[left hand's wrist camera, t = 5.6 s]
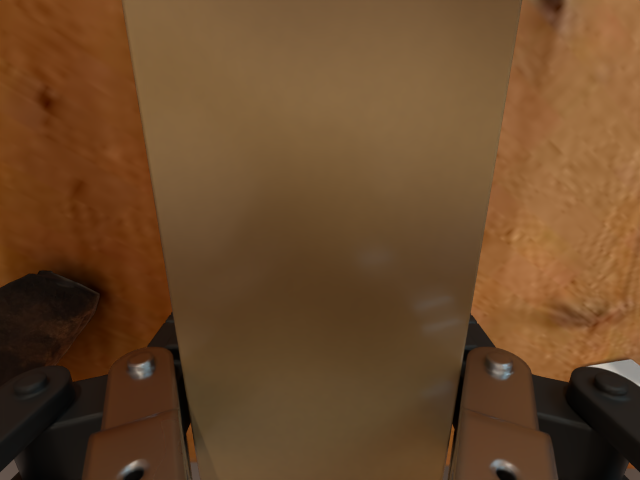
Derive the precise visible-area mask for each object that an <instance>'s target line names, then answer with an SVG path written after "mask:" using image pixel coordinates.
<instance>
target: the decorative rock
mask: <svg viewBox="0 0 640 480" xmlns="http://www.w3.org/2000/svg"><path fill="white" fill-rule="evenodd" d="M99 297H100V294H99V293H97V292H95V291H93V290H91V289H89V288H87V287H85V286H83V285H82V284H79V283H77V282H74V281H72V280H69V279H67V278H64V277H62V276H60V275H57V274H55V273H53V272H52V271H44V270H42V271H39V273H38V274H28V275H26V276H24V277H22V278H20V279H18V280H15V281H13V282H10V283H8V284H6V285H5V286H3V287H1V288H0V386H2V385H3V384H4V383H6V382H7V381H9V380H10V379H12V378H14V377H16V376H18V375H20V374H22V373H24V372H27V371H29V370H32V369H35V368H39V367H44V366H53V365H55V366H56V365H57V363H58V362H59V360H60V359H61V358H62V357H63V355H64V354H65V353H66V352H67V351H68V349H69V348H70V346H71V345H72V343H73V342H74V340H75V339H76V337H77V336H78V335H79V333H80V332H81V331H82V330H83V329H84V327H85V326H86V325H87V323H88V322H89V320H90V319H91V318H92V316H93V315H94V313H95V311H96V308H97V304H98V301H99Z"/></svg>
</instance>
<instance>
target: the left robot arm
mask: <svg viewBox="0 0 640 480" xmlns="http://www.w3.org/2000/svg"><path fill="white" fill-rule="evenodd" d="M190 423H191V421H190V414H189V408H188V402H187V396H186V390H185V384H184V378H183V372H182V366H181V360H180V353H179V347H178V341H177V335H176V329H175V323H174V317H173V311H172V313H171V315H170V316H169V317H168V318H167V320H166V323H164V324H163V325H162V327H161V328H160V329H159V331H158V332H157V334H156V335H155V336H154V338H153V339H152V340H151V342H150V343H149V345H148V346H147V347H145V348H141V349H137V350H134V351H132V352H130V353H127V354H126V355H124V356H122V357H121V358H119V359H118V360H117V361H116V362H115V363H114V364H113V365H112V366H111V368H110V370H109V373H108V374H107V375H103V376H99V377H94V378H90V379H85V380H80V381H75V382H72V378H71V375H70V372H69V370H68V369H67V368H65V367H63V366H55V365H53V366H44V367H39V368H35V369H32V370H29V371H27V372H24V373H22V374H20V375H18V376H16V377H14V378H12V379H10V380H9V381H7V382H6V383H4V384H3V385H2V386H0V472H1V471H2V470H3V469H4V468H5V467H6V466H7V465H8V464H9V463H10V462H11V461H12V460H13V459H14V460H15V463H16V465H17V467H18V470H19V472H18V473H17V474H16V475H15V476H14V477H13V478H12V479H11V480H192V473H191V465H190V457H189V450H188V442H187V436H186V432H187V430H188V428H189V425H190ZM452 424H453V427H454V429H455V430H454V436H453V442H452V450H451V457H450V465H449V473H448V480H629V479H628V478H627V477H626V476H625V475H624V473H625V471H626V468H627V466H628V464H629V462H630V463H631V464H632V465H633V466H634V467H635V468H636V469H637V470H638V471H639V472H640V386H638V385H637V384H635V383H634V382H632V381H631V380H629V379H627V378H626V377H624V376H622V375H619V374H617V373H615V372H612V371H609V370H606V369H602V368H597V367H579V368H577V369H575V370H574V371H573V372H572V374H571V377H570V381H569V382H564V381H559V380H555V379H550V378H545V377H541V376H537V375H533V374H532V373H531V370H530V368H529V366H528V365H527V364H526V363H525V362H524V361H523V360H522V359H521V358H519V357H518V356H516V355H514V354H513V353H510V352H508V351H506V350H503V349H499V348H496V347H495V346H494V344H493V343H492V342H491V340H490V339H489V338H488V336H487V335H486V333H485V332H484V331H483V329H482V328H481V327H480V325H479V324H477V321H476V320H475V318H474V317H473V316H472V315H471V313H470V319H469V325H468V331H467V337H466V343H465V349H464V355H463V361H462V367H461V373H460V379H459V385H458V391H457V397H456V403H455V410H454V416H453V422H452Z"/></svg>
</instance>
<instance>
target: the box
mask: <svg viewBox="0 0 640 480" xmlns="http://www.w3.org/2000/svg"><path fill="white" fill-rule="evenodd" d="M521 4H522V0H122V6H123V12H124V18H125V24H126V30H127V36H128V42H129V48H130V55H131V61H132V67H133V73H134V79H135V85H136V91H137V97H138V103H139V109H140V116H141V122H142V128H143V134H144V140H145V146H146V152H147V158H148V164H149V170H150V177H151V183H152V189H153V195H154V201H155V207H156V213H157V219H158V225H159V231H160V238H161V244H162V250H163V256H164V262H165V268H166V274H167V280H168V286H169V292H170V299H171V305H172V311H173V317H174V323H175V329H176V335H177V341H178V347H179V353H180V360H181V366H182V372H183V378H184V384H185V390H186V396H187V402H188V408H189V414H190V421H191V427H192V433H193V439H194V445H195V451H196V457H197V463H198V469H199V475H200V480H443V476H444V470H445V464H446V458H447V452H448V446H449V440H450V434H451V428H452V422H453V416H454V410H455V403H456V397H457V391H458V385H459V379H460V373H461V367H462V361H463V355H464V349H465V343H466V337H467V331H468V325H469V319H470V313H471V307H472V301H473V294H474V288H475V282H476V276H477V270H478V264H479V258H480V252H481V246H482V240H483V234H484V228H485V222H486V216H487V210H488V204H489V198H490V192H491V185H492V179H493V173H494V167H495V161H496V155H497V149H498V143H499V137H500V131H501V125H502V119H503V113H504V107H505V101H506V95H507V89H508V83H509V76H510V70H511V64H512V58H513V52H514V46H515V40H516V34H517V28H518V22H519V16H520V10H521Z"/></svg>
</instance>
